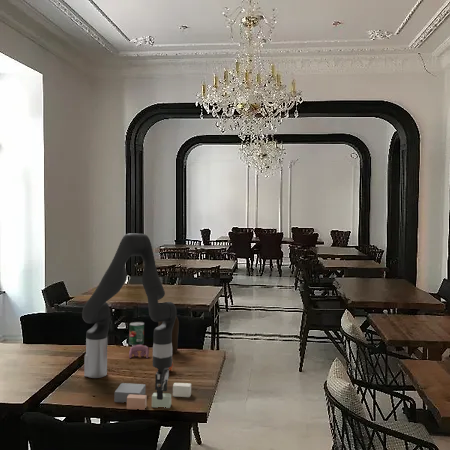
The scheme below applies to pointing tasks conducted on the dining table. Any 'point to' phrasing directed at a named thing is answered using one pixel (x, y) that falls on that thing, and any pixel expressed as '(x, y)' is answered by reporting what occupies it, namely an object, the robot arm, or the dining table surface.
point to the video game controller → (139, 348)
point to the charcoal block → (128, 391)
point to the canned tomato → (136, 333)
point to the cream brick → (182, 389)
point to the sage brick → (161, 403)
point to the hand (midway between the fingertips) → (162, 395)
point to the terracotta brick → (136, 402)
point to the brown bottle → (174, 335)
